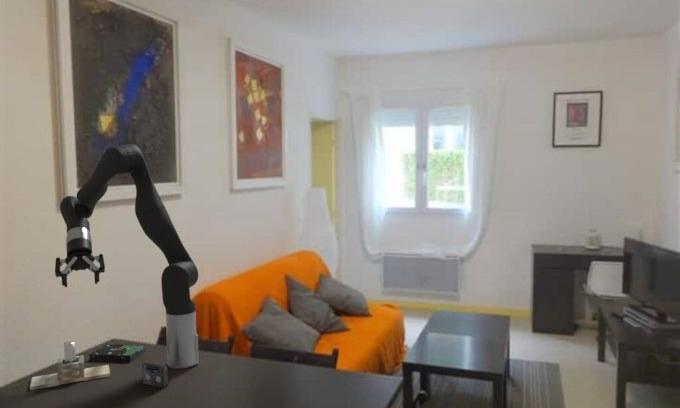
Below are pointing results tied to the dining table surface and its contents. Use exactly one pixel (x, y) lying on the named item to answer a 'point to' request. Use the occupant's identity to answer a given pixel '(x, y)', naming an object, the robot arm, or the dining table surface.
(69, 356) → the hinge pin
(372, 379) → the dining table surface
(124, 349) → the disk drive
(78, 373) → the hinge leaves
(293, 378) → the dining table surface
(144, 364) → the mini dv tape
